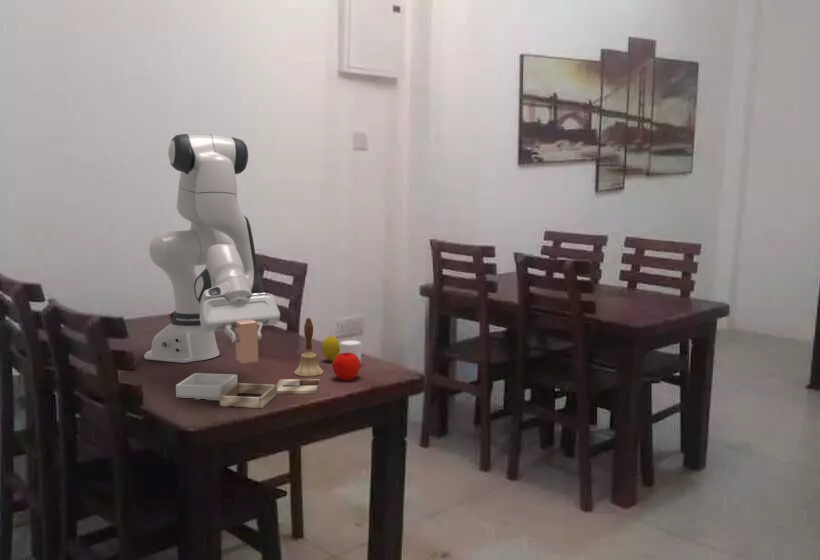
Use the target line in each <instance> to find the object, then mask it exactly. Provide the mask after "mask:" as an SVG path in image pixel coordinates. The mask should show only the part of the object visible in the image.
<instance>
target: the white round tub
mask: <svg viewBox="0 0 820 560" xmlns="http://www.w3.org/2000/svg"><path fill="white" fill-rule="evenodd" d="M339 348H340V353H353V354H355V355H356V356H357V357H358V358H359V360H360V366H361V365H362V351H363V342H362V341H361V340H355V339H350V340H348V339H347V340H346V339H345V340H342V341H339ZM340 353H339V354H340Z"/></svg>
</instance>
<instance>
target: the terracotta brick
mask: <svg viewBox="0 0 820 560" xmlns="http://www.w3.org/2000/svg"><path fill="white" fill-rule="evenodd" d="M234 333H238V336H239V342H235V359H236V361H237V362H239V363H241V364H246V363H253V362H254V363H255V362H259V343H258V342H259V340H258V329H257V322H256V321H254V320H244V321H236V322H235V329H234Z"/></svg>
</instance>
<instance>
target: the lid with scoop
mask: <svg viewBox="0 0 820 560" xmlns="http://www.w3.org/2000/svg"><path fill="white" fill-rule="evenodd" d="M278 379H279V378H278ZM320 381H321V379H320V378H303V379H301V378H293V379H291V378H288V379H287V378H286V379H285V378H283V379H282V378H281V379H279V380H278V382H276V385H277V395H279V394H282V395H283V394H285V395H291V394H294V395H295V394H300V395H301V394H304V395H305V394H308V395H309V394H311V395H312V394H317V391H318V389H319V385H320V383H321V382H320Z"/></svg>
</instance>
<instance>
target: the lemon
mask: <svg viewBox="0 0 820 560" xmlns="http://www.w3.org/2000/svg"><path fill="white" fill-rule="evenodd" d="M339 342H340V341H339V339H338V338H337V337H336V336H333V335H332V334H330V335H328V336H325V338H324V340H322V344H321V353H322V355H323V357H324V358H326V359H327V360H329V361H330V362H333V360H334V358H335V357H336V356H337V355H338V354H340V348H339Z"/></svg>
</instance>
